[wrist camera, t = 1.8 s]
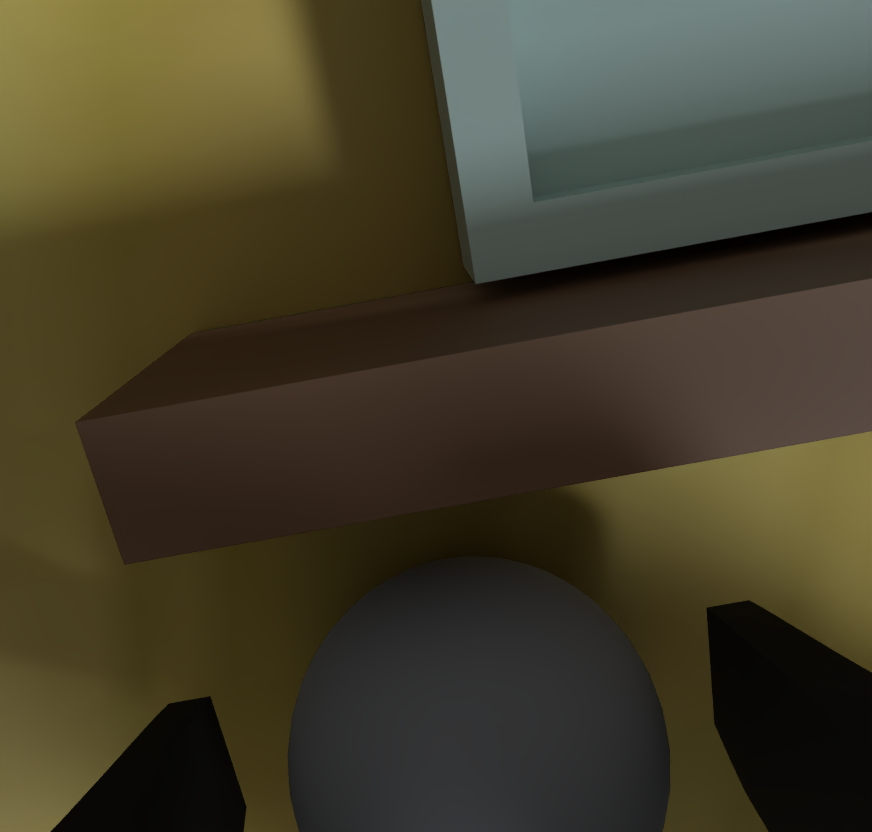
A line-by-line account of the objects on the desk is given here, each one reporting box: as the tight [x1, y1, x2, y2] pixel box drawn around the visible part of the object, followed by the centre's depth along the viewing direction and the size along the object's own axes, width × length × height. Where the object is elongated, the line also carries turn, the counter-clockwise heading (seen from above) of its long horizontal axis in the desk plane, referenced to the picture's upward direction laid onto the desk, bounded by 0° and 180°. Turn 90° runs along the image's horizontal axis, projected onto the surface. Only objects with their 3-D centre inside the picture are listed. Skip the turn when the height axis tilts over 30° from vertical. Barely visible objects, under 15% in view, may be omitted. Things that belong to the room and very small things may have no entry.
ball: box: [288, 556, 670, 832], centre depth 10 cm, size 5×5×5 cm
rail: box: [75, 212, 872, 565], centre depth 9 cm, size 2×14×4 cm, turn 100°
